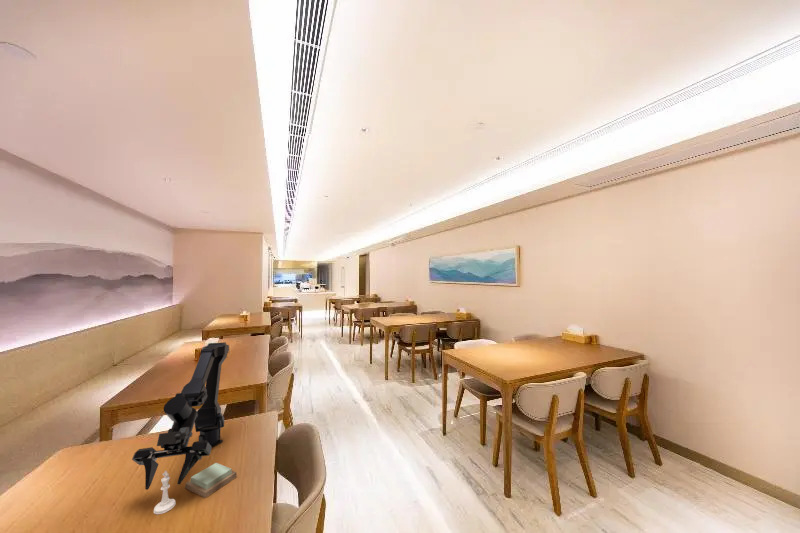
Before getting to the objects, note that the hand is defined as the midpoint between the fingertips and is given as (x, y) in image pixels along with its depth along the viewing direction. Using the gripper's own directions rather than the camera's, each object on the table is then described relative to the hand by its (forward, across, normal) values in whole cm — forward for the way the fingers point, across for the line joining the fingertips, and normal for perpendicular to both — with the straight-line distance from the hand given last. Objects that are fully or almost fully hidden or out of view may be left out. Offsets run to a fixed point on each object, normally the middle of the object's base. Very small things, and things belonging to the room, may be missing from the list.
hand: (162, 486), depth 82 cm
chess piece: (+4, 0, +6) cm, 7 cm away
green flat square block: (-2, +9, +11) cm, 15 cm away
